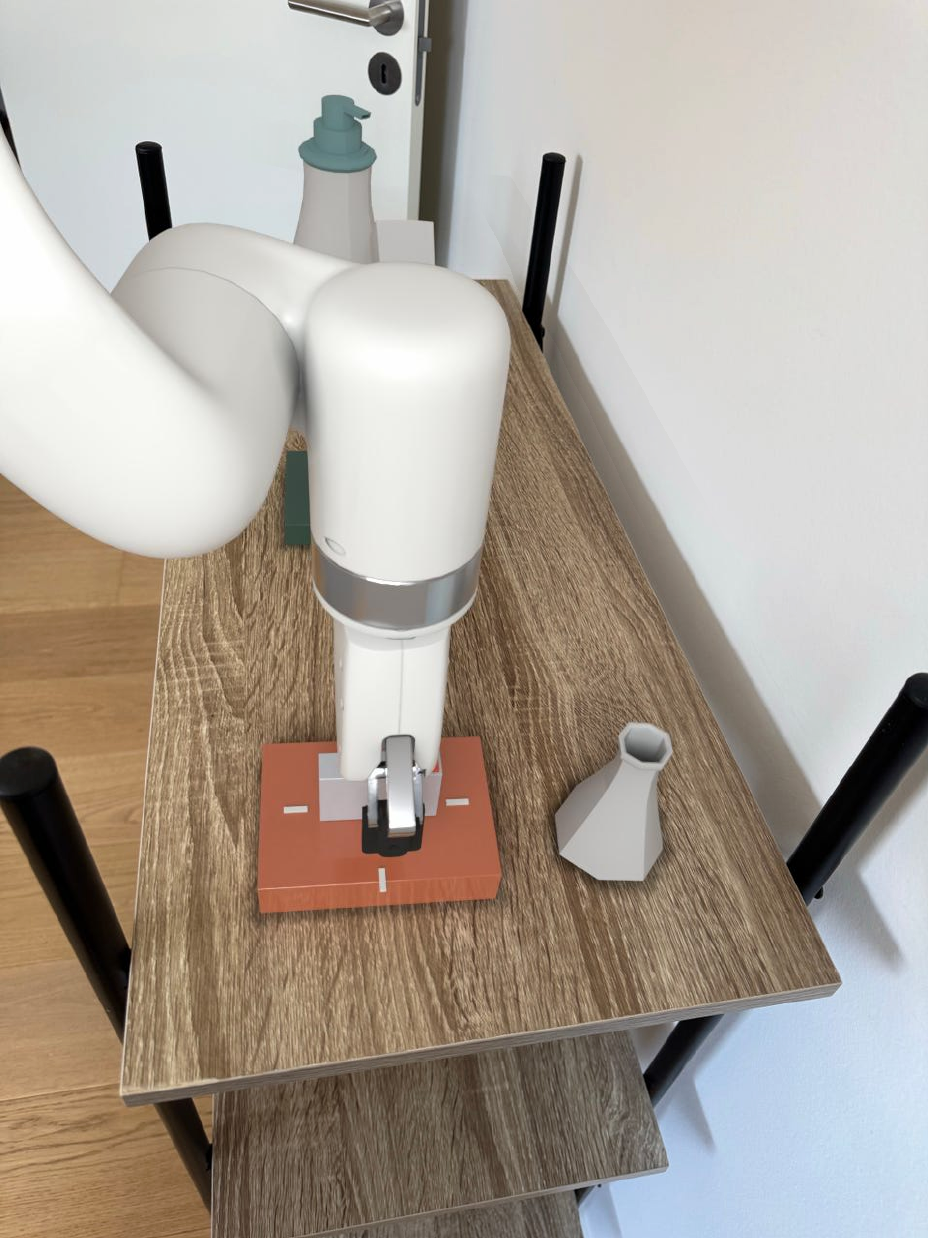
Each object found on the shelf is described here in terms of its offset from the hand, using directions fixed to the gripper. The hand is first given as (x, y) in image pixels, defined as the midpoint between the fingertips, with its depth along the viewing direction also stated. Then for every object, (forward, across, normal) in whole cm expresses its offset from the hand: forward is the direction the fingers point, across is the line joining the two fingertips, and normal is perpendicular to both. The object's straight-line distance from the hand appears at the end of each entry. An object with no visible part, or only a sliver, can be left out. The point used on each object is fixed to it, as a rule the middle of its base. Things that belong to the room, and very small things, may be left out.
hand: (385, 772), depth 53 cm
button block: (+7, -32, 0) cm, 33 cm away
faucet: (+7, -47, +5) cm, 48 cm away
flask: (+7, +1, +15) cm, 16 cm away
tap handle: (+4, 0, 0) cm, 4 cm away
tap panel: (+7, 0, 0) cm, 7 cm away
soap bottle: (+7, -62, -1) cm, 62 cm away
